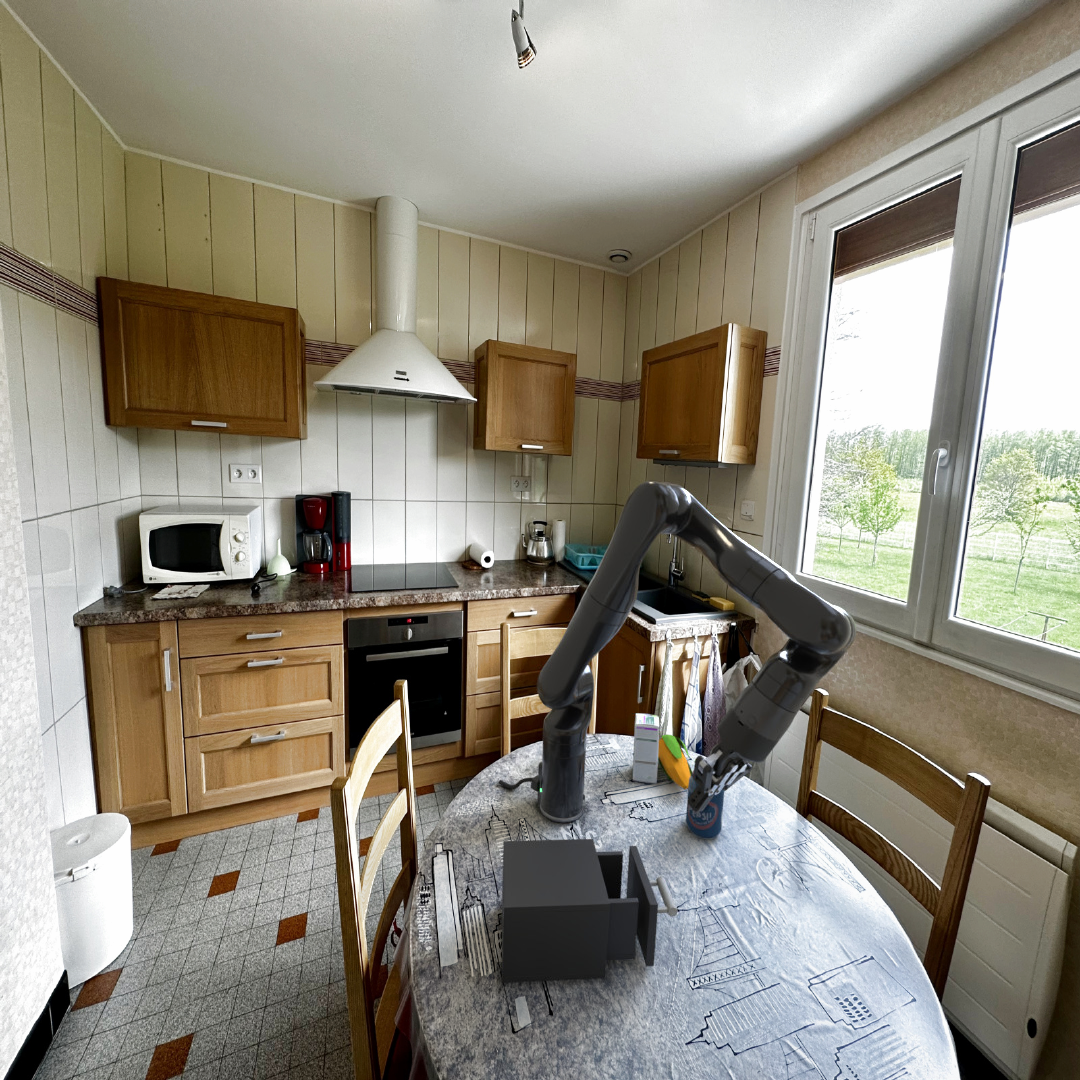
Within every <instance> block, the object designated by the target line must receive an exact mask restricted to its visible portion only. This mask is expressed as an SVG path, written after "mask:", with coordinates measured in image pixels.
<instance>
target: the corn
mask: <svg viewBox="0 0 1080 1080" xmlns="http://www.w3.org/2000/svg"><path fill="white" fill-rule="evenodd" d="M683 749H684V750H683ZM688 750H689V749H688V748H687V746H686V744H685V743H684V742H683V741H682V739H681V738H680V737H679V736H676V735H672V734H667V733H666V734H663V735H661V737H660V738H659V749H658V765H659V766H660V768H661V770H662V772H663V773H664V775H665V777H666V778H667V779H668V781H671V782H674V784H676V785H677V786H679V787H680V788H682V789H683V790H688V786H689V778H690V776H691V775H692V773H693V770H692V768H691V766H690V764H689V762H688V760H687V758H686V756H687V757H688V758H689V760H690V756H689V751H688ZM684 751H685V753H686V755H685V753H684Z"/></svg>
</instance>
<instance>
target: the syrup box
mask: <svg viewBox="0 0 1080 1080" xmlns="http://www.w3.org/2000/svg"><path fill="white" fill-rule="evenodd" d="M633 734H634V735H633V736H634V737H633V755H632V757H633V758H632V759H633V760H632V780H633V781H635V782H640V783H647V784H655V785H656V784H657V780H658V767H659V766H658V765H659V761H658V749H659V740H660V717H659V715H656V714H650V713H638V712H637V713H635V719H634V733H633Z"/></svg>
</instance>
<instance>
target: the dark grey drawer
mask: <svg viewBox="0 0 1080 1080" xmlns="http://www.w3.org/2000/svg"><path fill="white" fill-rule="evenodd" d="M596 852H597V856H598V860H599V864H600V868H601V872H602V876H603V879H604V883H605V887H606V891H607V895H608V899H609V903H610V908H609V925H608V943H607V960H606V962H607V961H608V962H609V961H629V960H636V948H637V941H638V945H639V948H640V951H641V955H642V958H643V961H644V964H645V967H654V966H655V957H656V940H657V929H658V925H657V924H658V914H668V916H670V917H676V916H677V914H678V913H679V912H678V910H679V909H678V908H677V905H676V903H675V901H674V898H673V895H672V893H671V891H670V888H669V886H668V883H667V881H666V878H665V877H664V876H658V877H656V879H649V876H648V873H647V871H646V868H645V864H644V862H643V859H642V857H641V854H640V851H639V849H638V846H637V845H629V849H628V864H627V878H626V879H627V881H626V895H625V897H622V895H621V894H622V882H623V866H624V865H623V863H624V853H623V851H622V850H614V851H611V850H610V851H596ZM653 887H657V889H658V891H659V894H660V896H661V898H662V902H663V904H664V906H663V905H662V906H659V903H658V901H657V898H656V895H655V893H654V889H653Z"/></svg>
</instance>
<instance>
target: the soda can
mask: <svg viewBox="0 0 1080 1080" xmlns="http://www.w3.org/2000/svg"><path fill="white" fill-rule="evenodd" d="M693 773H694V769H693V770H692V775H691V776H690V778H689V786H688V789H687V799H688V798H689V796H690V795H691V794H692V792H693V791H694V789H695V788H696V787H697V785H698V784H697V783H696V782H695V781H694V780H693ZM724 800H725V791H723V790H721V791H720V793H719V794H717V795H715V794H714V796H713V797H712V799H711V800H710V802H709V803H708V804H707V806H706V807H705V808H704V810H703V811H699V812H695V811H694V810H693V809H692V808H691V807H690V805H689V804H688V802H687V801H686V813H685V823H686V826H687V828H688V829H689V831H690V832H691V834H692V835H694V836H695V837H697V838H700V839H702V840H713V839H714V838H716V837H717V836H718V835H719V834H720V833H721V832H722V825H723V824H722V823H723V812H724V802H725V801H724Z"/></svg>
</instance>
